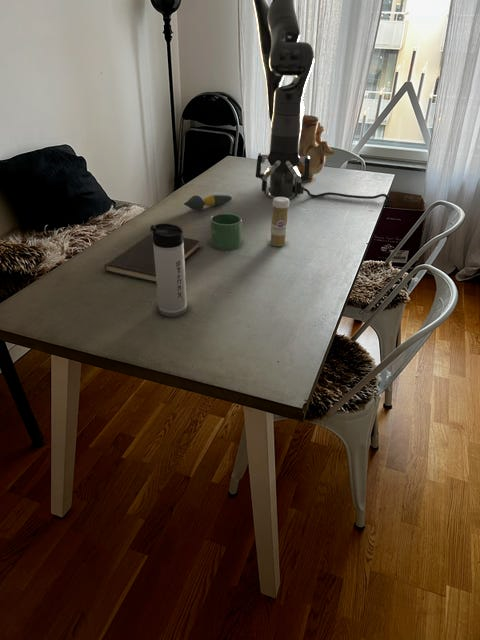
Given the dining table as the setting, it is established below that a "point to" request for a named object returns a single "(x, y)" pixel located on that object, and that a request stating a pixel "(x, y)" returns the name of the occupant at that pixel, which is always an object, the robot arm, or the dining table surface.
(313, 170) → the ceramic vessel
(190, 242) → the hardcover book
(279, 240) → the sprinkles bottle
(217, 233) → the cup
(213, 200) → the paintbrush
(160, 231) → the travel mug
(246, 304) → the dining table surface
